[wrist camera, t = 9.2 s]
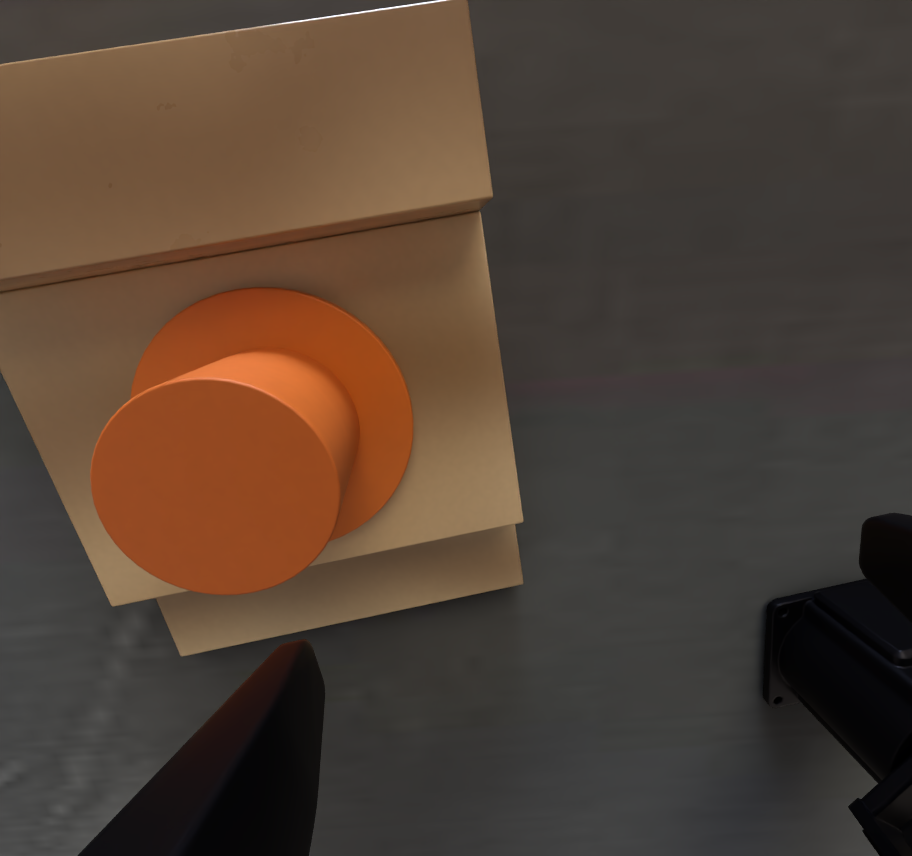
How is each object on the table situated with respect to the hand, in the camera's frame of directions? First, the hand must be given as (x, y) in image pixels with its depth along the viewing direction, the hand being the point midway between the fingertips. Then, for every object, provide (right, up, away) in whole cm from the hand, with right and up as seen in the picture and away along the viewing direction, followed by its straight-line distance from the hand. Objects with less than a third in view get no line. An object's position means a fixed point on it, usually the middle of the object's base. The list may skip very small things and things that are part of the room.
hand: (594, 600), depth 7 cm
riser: (-8, +4, +10) cm, 13 cm away
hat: (-8, +3, +7) cm, 11 cm away
